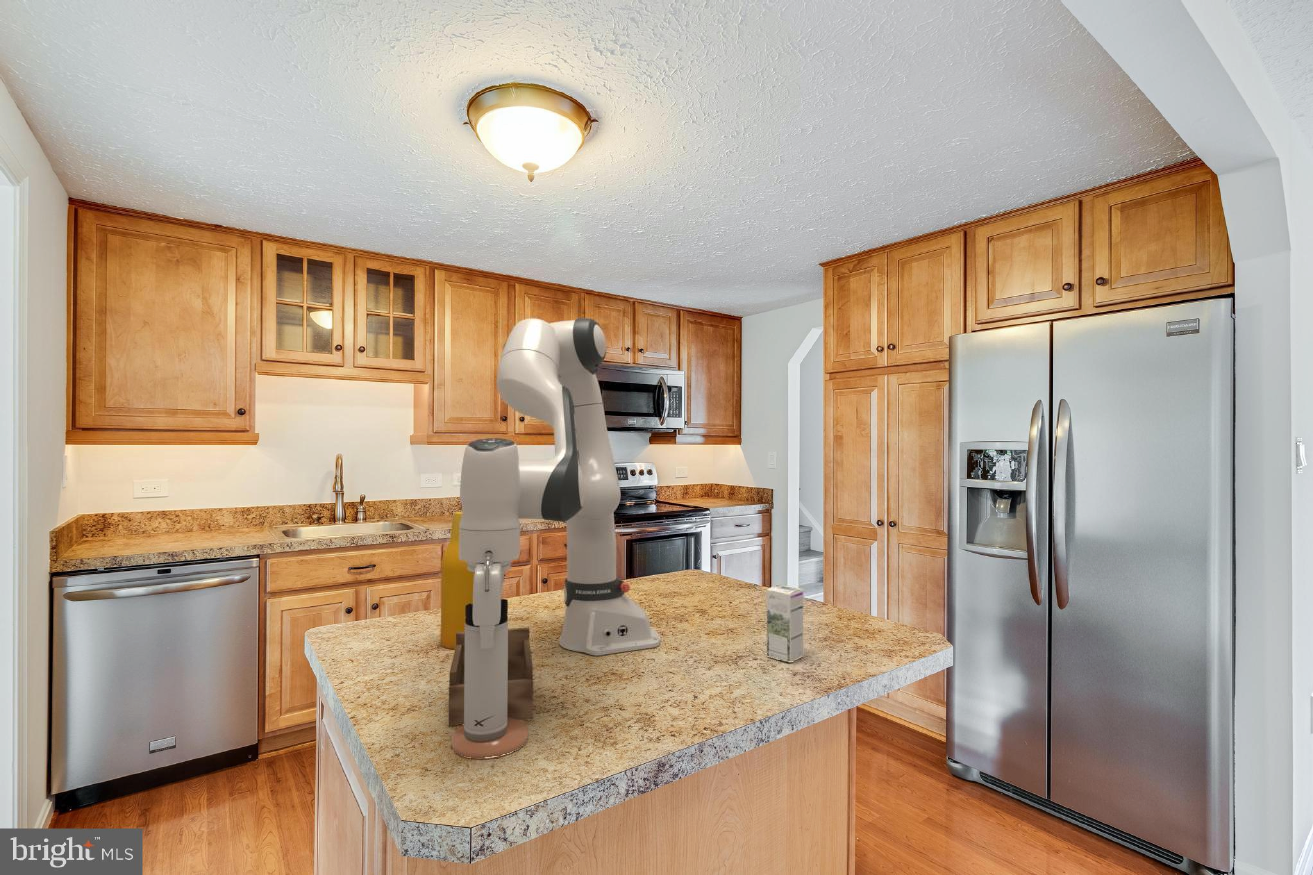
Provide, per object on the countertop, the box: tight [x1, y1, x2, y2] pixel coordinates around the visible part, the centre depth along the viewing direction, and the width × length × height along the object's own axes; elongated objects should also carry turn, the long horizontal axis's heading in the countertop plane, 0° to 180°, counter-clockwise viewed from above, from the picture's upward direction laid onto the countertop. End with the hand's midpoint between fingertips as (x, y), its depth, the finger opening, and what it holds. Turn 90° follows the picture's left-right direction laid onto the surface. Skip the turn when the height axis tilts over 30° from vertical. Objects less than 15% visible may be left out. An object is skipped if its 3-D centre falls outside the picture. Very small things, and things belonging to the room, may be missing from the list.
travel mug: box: [464, 598, 509, 742], centre depth 93 cm, size 6×7×20 cm
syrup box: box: [766, 584, 804, 661], centre depth 130 cm, size 6×6×14 cm
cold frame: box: [448, 627, 534, 727], centre depth 107 cm, size 13×16×10 cm
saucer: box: [451, 717, 529, 758], centre depth 93 cm, size 11×11×1 cm
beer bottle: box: [439, 511, 475, 650], centre depth 139 cm, size 9×9×29 cm
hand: (488, 639), depth 93 cm, fingers closed on travel mug, 6 cm apart
